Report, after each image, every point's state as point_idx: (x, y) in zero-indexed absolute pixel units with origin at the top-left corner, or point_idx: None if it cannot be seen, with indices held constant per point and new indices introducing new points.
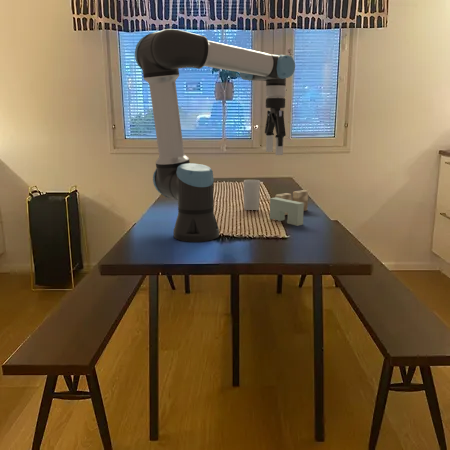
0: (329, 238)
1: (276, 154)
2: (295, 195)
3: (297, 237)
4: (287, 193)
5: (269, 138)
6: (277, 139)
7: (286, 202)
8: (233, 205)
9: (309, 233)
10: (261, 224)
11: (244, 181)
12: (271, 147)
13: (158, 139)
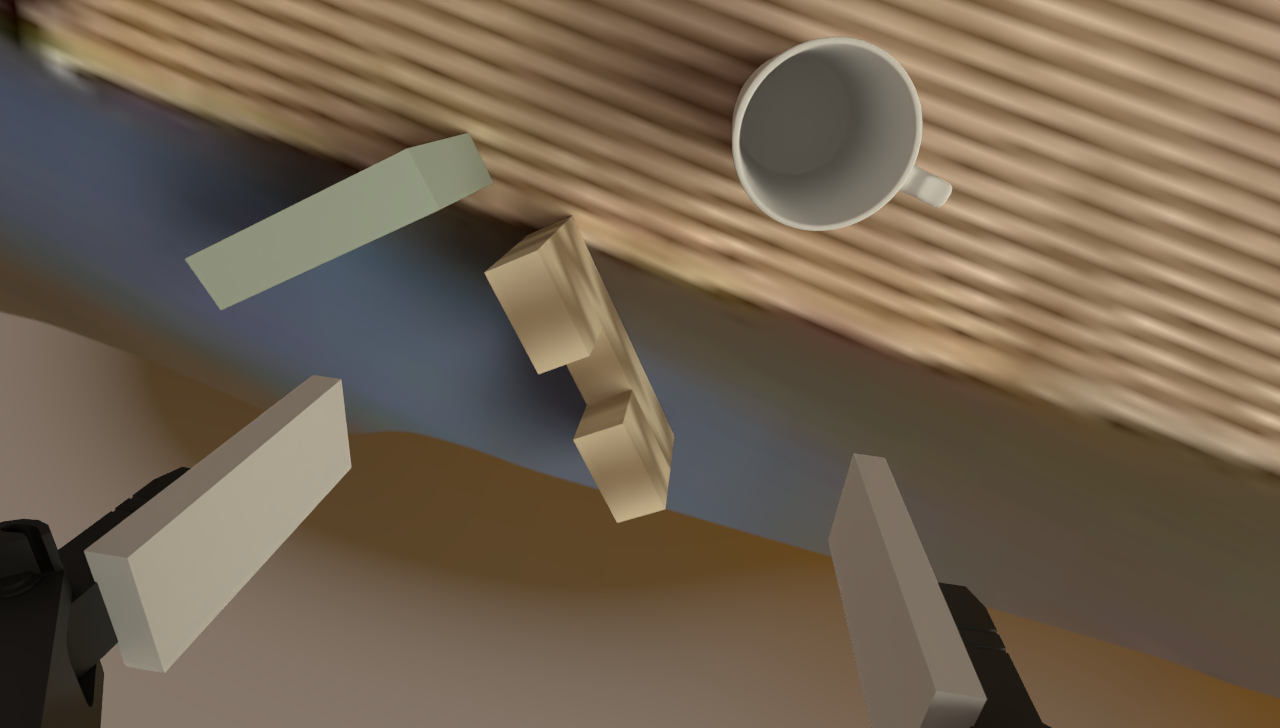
0: (42, 262)
1: (307, 384)
2: (602, 419)
3: (44, 113)
4: (568, 359)
5: (895, 677)
6: (125, 542)
7: (271, 216)
8: (1005, 13)
9: (126, 213)
10: (332, 14)
11: (825, 38)
12: (847, 570)
13: None
